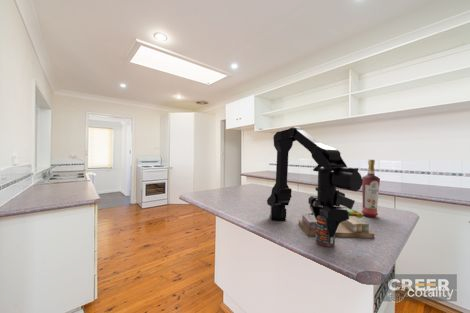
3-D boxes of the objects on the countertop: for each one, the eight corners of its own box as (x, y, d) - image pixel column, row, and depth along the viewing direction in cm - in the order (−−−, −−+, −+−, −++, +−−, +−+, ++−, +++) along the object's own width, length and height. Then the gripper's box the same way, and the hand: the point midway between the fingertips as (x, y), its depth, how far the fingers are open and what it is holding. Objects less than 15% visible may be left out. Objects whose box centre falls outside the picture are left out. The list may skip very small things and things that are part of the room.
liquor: (365, 217, 95) (367, 159, 94) (357, 213, 102) (359, 159, 102) (381, 218, 94) (384, 160, 94) (372, 213, 102) (374, 159, 101)
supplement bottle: (312, 243, 67) (313, 209, 67) (319, 237, 71) (320, 206, 71) (331, 249, 63) (332, 214, 62) (337, 243, 67) (338, 210, 67)
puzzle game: (309, 204, 102) (349, 205, 100) (309, 213, 102) (349, 214, 100) (317, 210, 90) (363, 212, 88) (317, 221, 90) (362, 223, 89)
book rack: (307, 235, 73) (307, 223, 73) (298, 223, 85) (298, 213, 85) (374, 238, 72) (374, 225, 72) (355, 225, 84) (355, 215, 84)
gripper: (368, 192, 57) (366, 245, 57) (338, 182, 75) (336, 222, 76) (329, 190, 57) (327, 243, 58) (308, 181, 76) (307, 221, 76)
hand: (325, 231), depth 67 cm, fingers open, 9 cm apart
